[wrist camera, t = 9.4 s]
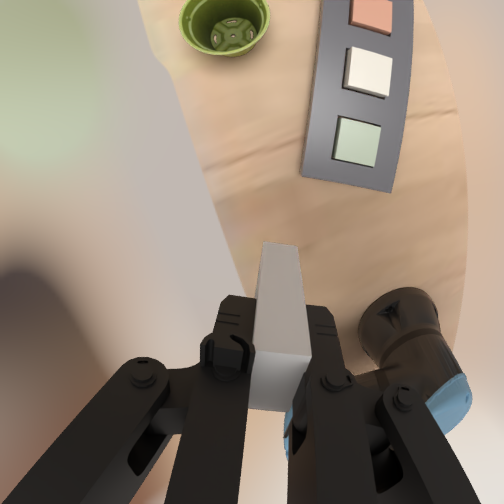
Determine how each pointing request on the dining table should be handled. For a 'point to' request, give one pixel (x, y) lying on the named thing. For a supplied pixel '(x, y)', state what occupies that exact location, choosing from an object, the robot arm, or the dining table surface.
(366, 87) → the cream key
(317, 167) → the keypad
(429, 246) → the dining table surface
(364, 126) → the sage key
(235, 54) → the plant pot
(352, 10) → the terracotta key
